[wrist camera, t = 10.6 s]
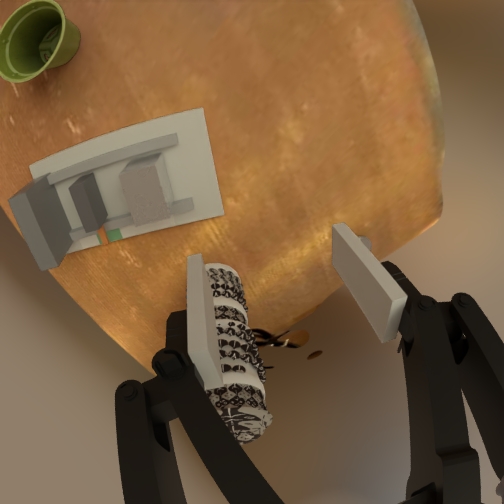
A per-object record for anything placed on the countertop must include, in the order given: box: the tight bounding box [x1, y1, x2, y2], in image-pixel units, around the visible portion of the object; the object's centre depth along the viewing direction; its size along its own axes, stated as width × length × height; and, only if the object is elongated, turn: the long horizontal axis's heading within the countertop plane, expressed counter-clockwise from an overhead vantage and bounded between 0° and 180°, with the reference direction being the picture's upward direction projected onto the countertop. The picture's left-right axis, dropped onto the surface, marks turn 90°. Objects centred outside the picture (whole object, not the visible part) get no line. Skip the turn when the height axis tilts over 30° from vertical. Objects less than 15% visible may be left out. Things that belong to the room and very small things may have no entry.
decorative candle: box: [186, 263, 273, 445], centre depth 36 cm, size 9×9×25 cm
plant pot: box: [0, 0, 80, 83], centre depth 20 cm, size 9×9×9 cm
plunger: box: [118, 152, 174, 227], centre depth 31 cm, size 6×4×6 cm, turn 8°
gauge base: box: [8, 107, 225, 271], centre depth 31 cm, size 14×24×8 cm, turn 98°
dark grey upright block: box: [68, 173, 110, 245], centre depth 32 cm, size 9×2×4 cm, turn 8°
